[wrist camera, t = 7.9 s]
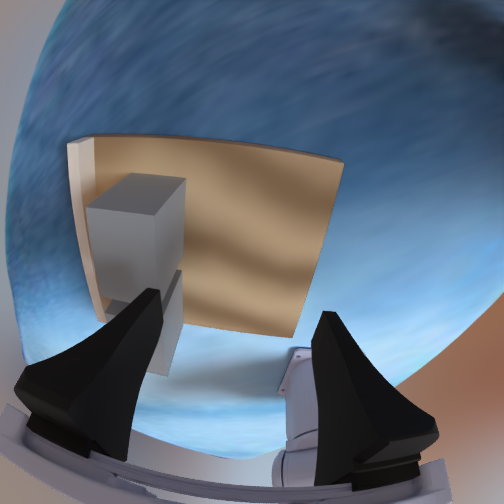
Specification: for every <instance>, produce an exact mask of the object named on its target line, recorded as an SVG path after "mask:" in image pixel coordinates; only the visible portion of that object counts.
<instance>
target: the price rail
mask: <svg viewBox="0 0 504 504" xmlns="http://www.w3.org/2000/svg"><path fill="white" fill-rule="evenodd" d="M67 153H68V169H69V180H70V190H71V199H72V207H73V214H74V220H75V226H76V232H77V238H78V243H79V248H80V253H81V258H82V263H83V267H84V271H85V276H86V280H87V284H88V288H89V291H90V295H91V299H92V302H93V306H94V309H95V313H96V316H97V319H98V321H100V322H104V323H107V321H106V317H105V314H104V313H105V311H106V309H107V307H108V306H109V304H110V302H111V301H112V299H110V298H106V297H102V296H101V295H100V291H99V286H98V282H97V277H96V272H95V267H94V262H93V257H92V251H91V245H90V239H89V232H88V225H87V217H86V209H85V207H86V206H87V205H89V204H90V203H91V202H93V201H94V200H95V199H96V198H97V193H96V180H95V161H94V137H84V138H81V139H78V140H75V141H73V142H70V143H68V144H67Z"/></svg>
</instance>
